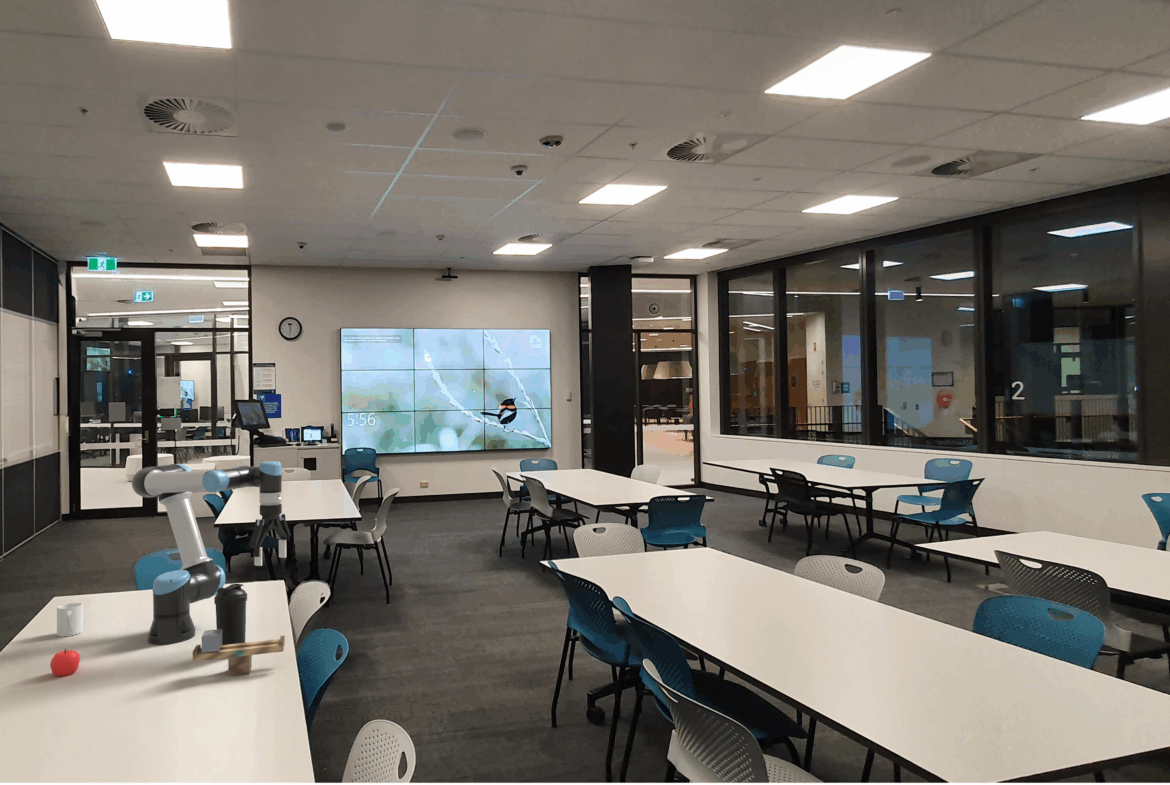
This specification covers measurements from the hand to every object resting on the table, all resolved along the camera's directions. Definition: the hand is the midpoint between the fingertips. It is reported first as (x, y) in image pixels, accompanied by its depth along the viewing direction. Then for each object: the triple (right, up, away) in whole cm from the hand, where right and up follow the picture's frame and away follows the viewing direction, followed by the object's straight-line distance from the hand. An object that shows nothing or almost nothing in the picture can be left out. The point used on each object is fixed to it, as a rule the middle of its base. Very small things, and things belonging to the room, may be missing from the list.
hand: (270, 561), depth 273 cm
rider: (-2, -21, -39) cm, 44 cm away
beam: (+6, -27, -36) cm, 46 cm away
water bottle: (-5, -27, -19) cm, 34 cm away
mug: (-76, -28, +3) cm, 81 cm away
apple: (-50, -28, -36) cm, 68 cm away
